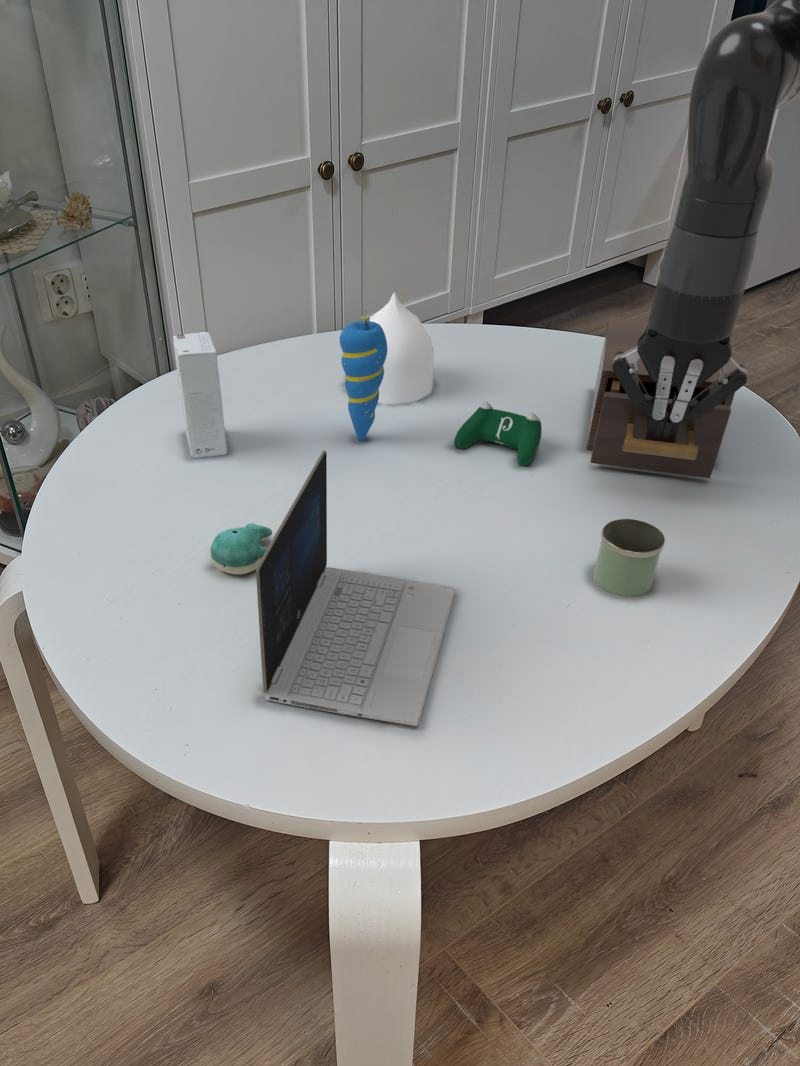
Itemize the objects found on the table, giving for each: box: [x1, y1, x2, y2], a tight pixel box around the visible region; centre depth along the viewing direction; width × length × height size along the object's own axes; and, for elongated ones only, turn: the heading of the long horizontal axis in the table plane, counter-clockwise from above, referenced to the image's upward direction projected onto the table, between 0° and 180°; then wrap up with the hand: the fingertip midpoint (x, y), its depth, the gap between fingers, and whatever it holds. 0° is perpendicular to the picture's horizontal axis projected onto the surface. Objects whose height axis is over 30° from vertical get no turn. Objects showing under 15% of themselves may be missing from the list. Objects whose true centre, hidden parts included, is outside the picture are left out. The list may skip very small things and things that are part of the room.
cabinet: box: [585, 317, 736, 452], centre depth 104 cm, size 16×14×10 cm
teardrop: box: [369, 291, 435, 405], centre depth 112 cm, size 11×11×12 cm
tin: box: [592, 518, 666, 598], centre depth 82 cm, size 5×5×5 cm
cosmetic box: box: [172, 331, 228, 459], centre depth 100 cm, size 6×4×12 cm
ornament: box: [339, 309, 387, 442], centre depth 100 cm, size 5×5×15 cm
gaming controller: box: [453, 401, 542, 467], centre depth 102 cm, size 9×4×6 cm
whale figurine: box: [210, 523, 273, 575], centre depth 86 cm, size 6×7×4 cm
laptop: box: [255, 449, 456, 727], centre depth 73 cm, size 18×12×13 cm
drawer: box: [590, 378, 732, 479], centre depth 98 cm, size 19×12×8 cm, turn 164°
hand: (657, 449), depth 93 cm, fingers closed
